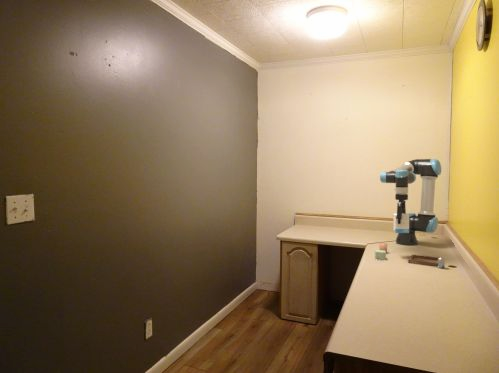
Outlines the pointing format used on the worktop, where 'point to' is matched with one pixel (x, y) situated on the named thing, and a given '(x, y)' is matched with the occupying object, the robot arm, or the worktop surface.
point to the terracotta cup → (383, 247)
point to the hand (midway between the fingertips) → (401, 227)
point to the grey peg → (441, 262)
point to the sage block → (380, 254)
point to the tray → (423, 260)
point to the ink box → (404, 224)
